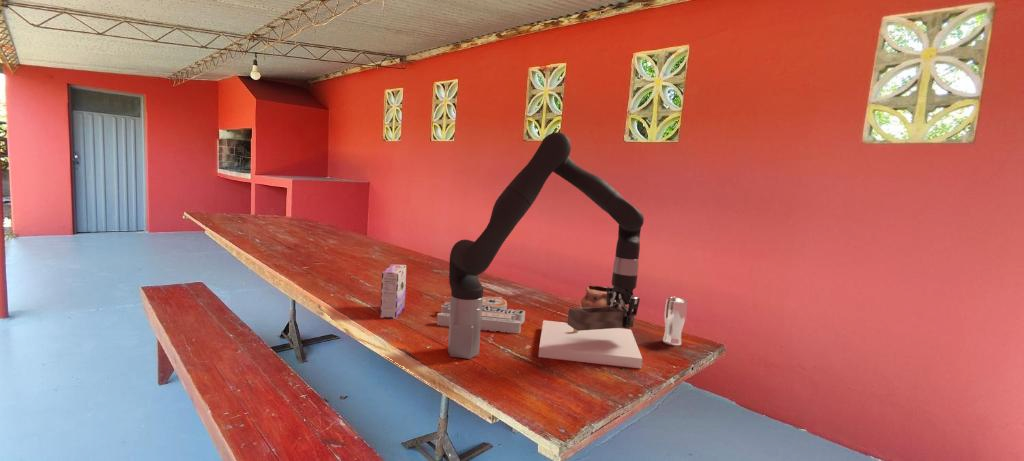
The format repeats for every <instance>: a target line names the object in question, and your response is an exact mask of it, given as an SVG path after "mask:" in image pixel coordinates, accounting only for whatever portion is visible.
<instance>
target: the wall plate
mask: <svg viewBox="0 0 1024 461" xmlns="http://www.w3.org/2000/svg"><path fill="white" fill-rule="evenodd" d="M567 323H568V322H561V321H554V320H553V321H552V320H542V327H541V332H540V333H541V334H540V341H539V346H538V347H539V348H538V358H545V359H553V360H561V361H562V360H563V361H570V362H571V361H572V362H580V363H590V364H591V363H592V364H596V365H597V364H598V365H605V366H607V365H608V366H615V367H623V368H624V367H625V368H634V369H642V364H643V357H642V353H641V351H640V348H639V347H638V343H637V342H636V341H637V340H636V338H635V336H634V334H633V331H632V329H630V328H629V329H628V328H611V329H597V330H582V331H577V330H575V329H574V328H572V327H571V326H569V325H568V324H567Z"/></svg>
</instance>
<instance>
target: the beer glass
mask: <svg viewBox="0 0 1024 461" xmlns="http://www.w3.org/2000/svg"><path fill="white" fill-rule="evenodd" d="M664 306H665V308H664V335H663V338H662V342H663V343H664V344H666V345H669V346H676V347H677V346H681V345H682V332H683V329H684V325H685V323H686V319H687V312H688V300H687V299H685V298H683V297H678V296H677V297H676V296H669V297H668V296H667V297H666V302H665V305H664Z"/></svg>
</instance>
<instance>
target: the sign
mask: <svg viewBox="0 0 1024 461" xmlns="http://www.w3.org/2000/svg"><path fill="white" fill-rule="evenodd" d="M507 302H508V301H507V300H506V299H504V298H503V297H502V296H483V302H482V316H481V331H487V330H489V331H488V332H496V331H500V332H499V333H506V332H507V334H515V333H516V334H517V333H519V334H521V330H522V324H524V322H525V320H526V310H522V309H515V310H514V309H513V308H509V309H508V308H507V307H508V303H507ZM450 305H451V301H450V302H449V301H445V302H444V304H442V305H441V308H440V312H438V313H436V314H437V316H436V325H437V326H439V325H440V326H441V327H449V322H450ZM516 334H515V335H516ZM517 335H518V334H517Z"/></svg>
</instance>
